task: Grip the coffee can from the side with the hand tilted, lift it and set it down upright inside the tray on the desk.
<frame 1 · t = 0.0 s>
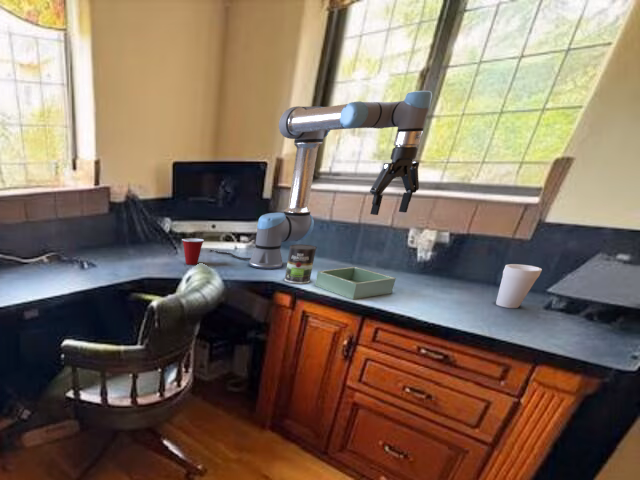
hand: (388, 213, 153), 28 cm above the table, tool pointing down, fingers open, 13 cm apart
tray: (352, 289, 166), on the table
coffee can: (297, 281, 179), on the table
plastic cup: (191, 264, 211), on the table
foam cup: (506, 305, 146), on the table
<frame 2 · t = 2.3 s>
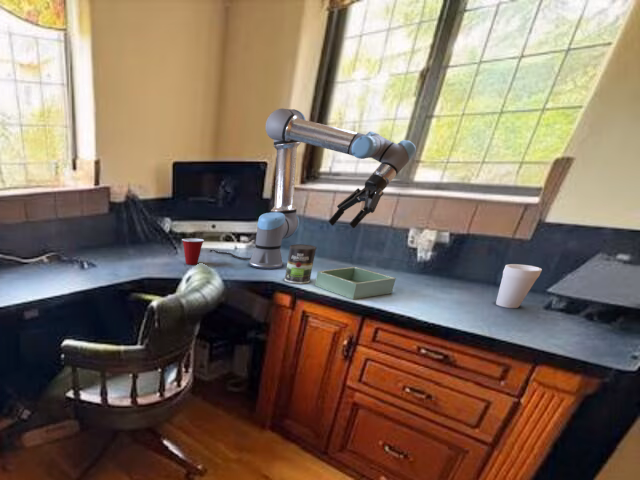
hand: (340, 224, 172), 22 cm above the table, tool tilted 40°, fingers open, 13 cm apart
nothing on the table moved.
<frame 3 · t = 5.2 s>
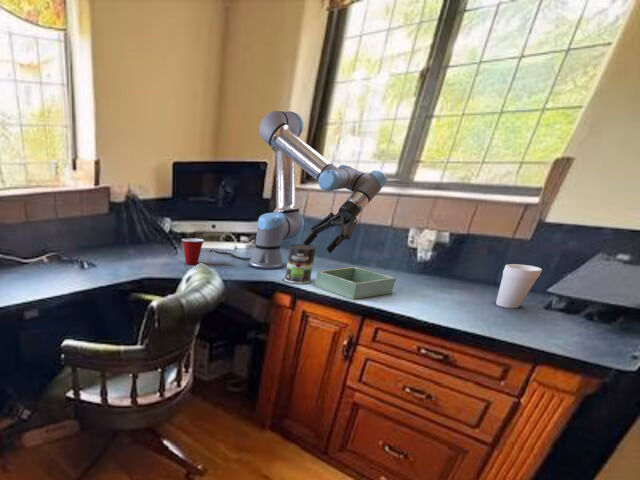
hand: (316, 247, 174), 13 cm above the table, tool tilted 45°, fingers open, 13 cm apart
nothing on the table moved.
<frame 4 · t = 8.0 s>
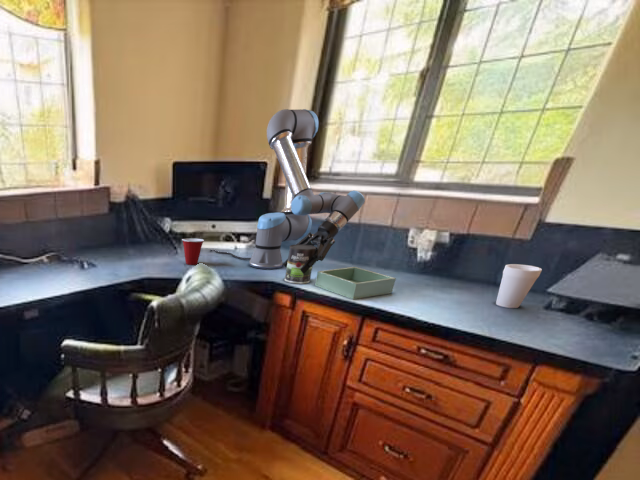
hand: (293, 268, 175), 5 cm above the table, tool tilted 45°, fingers closed on coffee can, 10 cm apart
coffee can: (297, 281, 179), on the table, touching gripper
everything else where it was.
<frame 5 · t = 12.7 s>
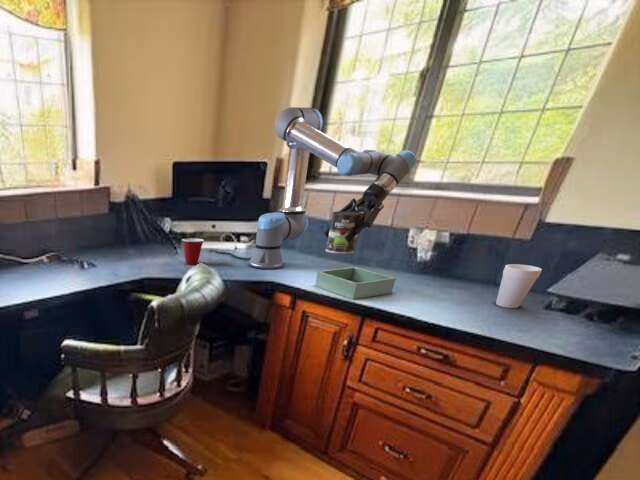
hand: (336, 237, 160), 19 cm above the table, tool tilted 45°, fingers closed on coffee can, 10 cm apart
coffee can: (339, 251, 164), point 14 cm above the table, touching gripper
everything else where it was.
when the fingers open (6 cm above the table, at t = 17.7 s): coffee can stays where it is, resting on tray.
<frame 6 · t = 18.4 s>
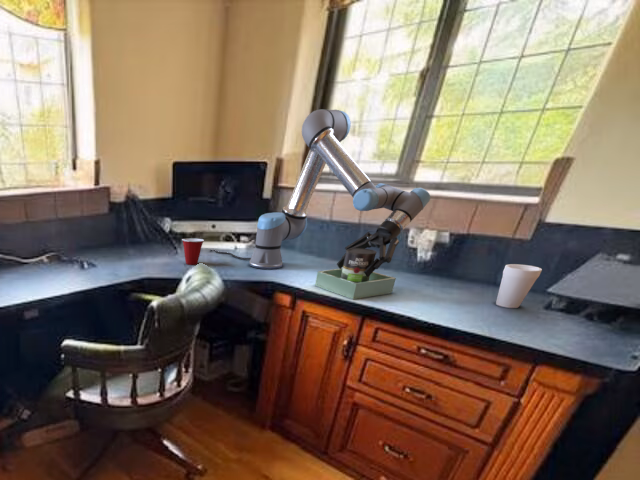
hand: (351, 270, 162), 8 cm above the table, tool tilted 45°, fingers open, 13 cm apart
coffee can: (352, 287, 166), point 1 cm above the table, touching tray
everything else where it was.
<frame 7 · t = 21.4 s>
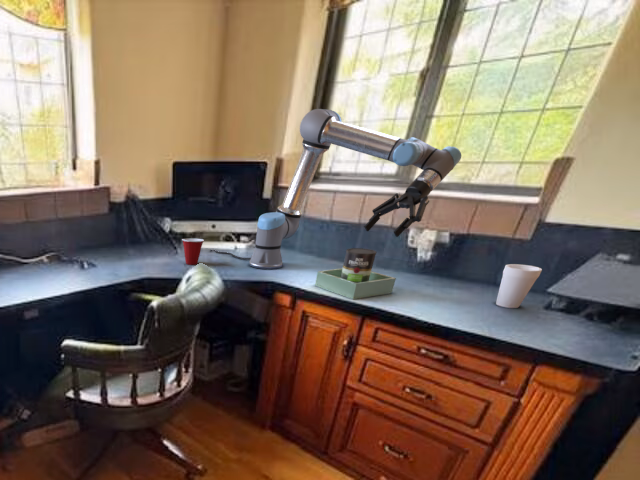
hand: (380, 231, 160), 21 cm above the table, tool tilted 45°, fingers open, 13 cm apart
nothing on the table moved.
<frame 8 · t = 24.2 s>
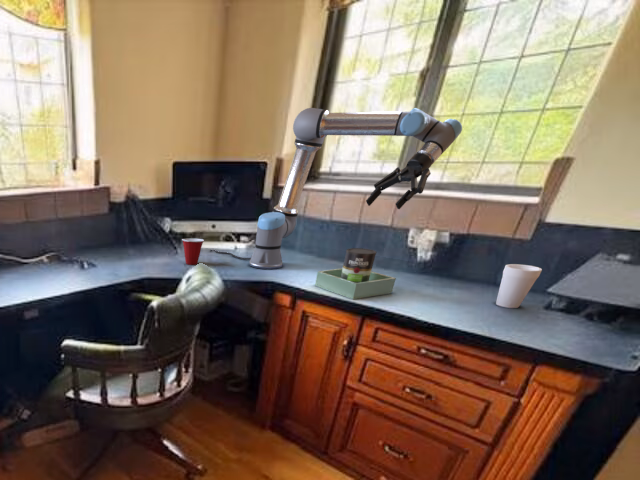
hand: (381, 205, 161), 30 cm above the table, tool tilted 45°, fingers open, 13 cm apart
nothing on the table moved.
at the end: coffee can inside the target area in the tray (0.0 cm from its centre), point 0.6 cm above the tray's base; coffee can tilted 0°; the gripper is holding nothing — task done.
